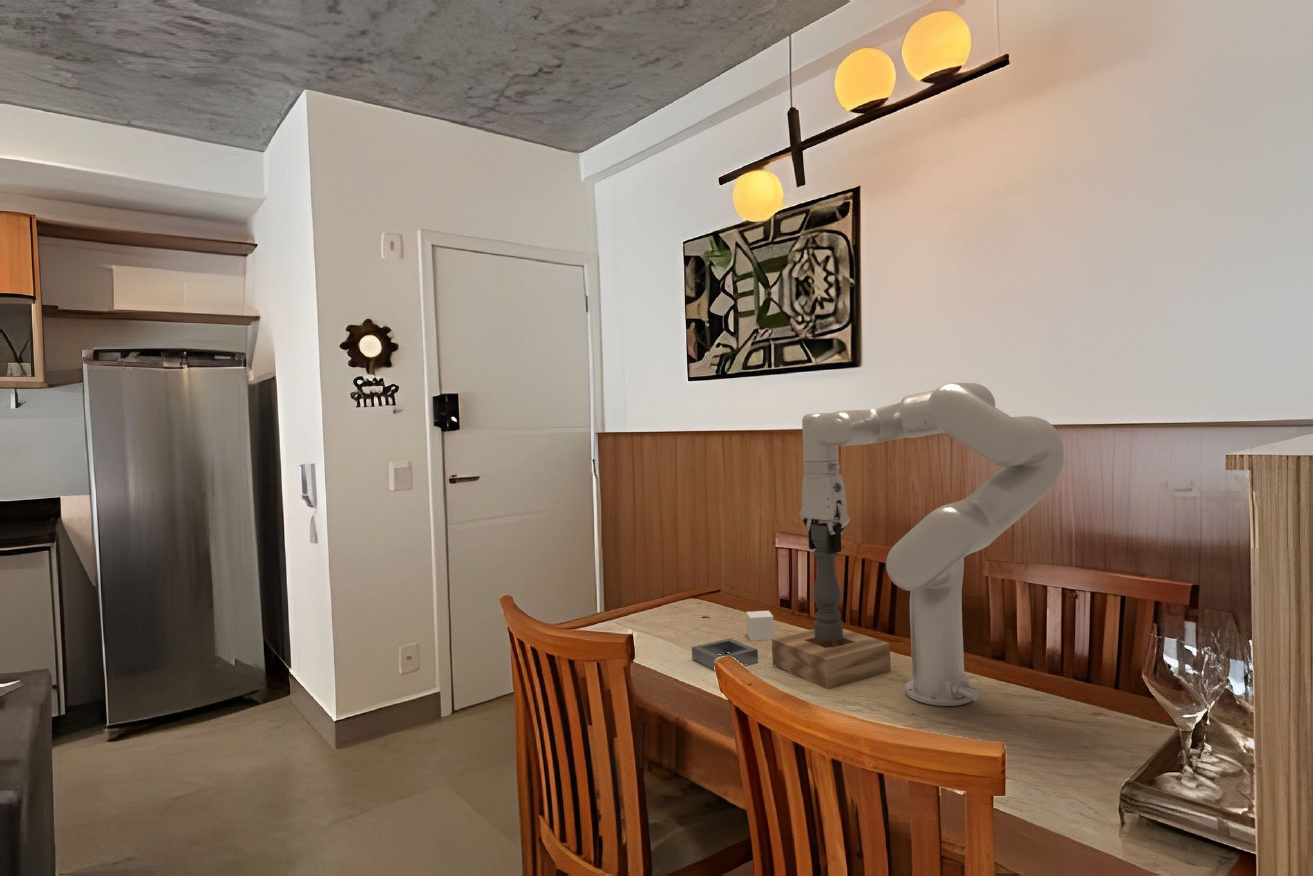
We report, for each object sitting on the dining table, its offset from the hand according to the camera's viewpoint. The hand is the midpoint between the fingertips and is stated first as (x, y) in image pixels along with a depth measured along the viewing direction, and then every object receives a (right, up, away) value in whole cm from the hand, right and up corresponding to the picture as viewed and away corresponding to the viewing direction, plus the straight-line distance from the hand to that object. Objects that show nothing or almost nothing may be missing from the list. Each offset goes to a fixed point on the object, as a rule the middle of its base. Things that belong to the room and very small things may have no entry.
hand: (824, 549), depth 158 cm
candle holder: (+1, -20, 0) cm, 20 cm away
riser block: (+1, -26, 0) cm, 26 cm away
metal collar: (-21, -27, +8) cm, 36 cm away
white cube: (-11, -27, +26) cm, 39 cm away
